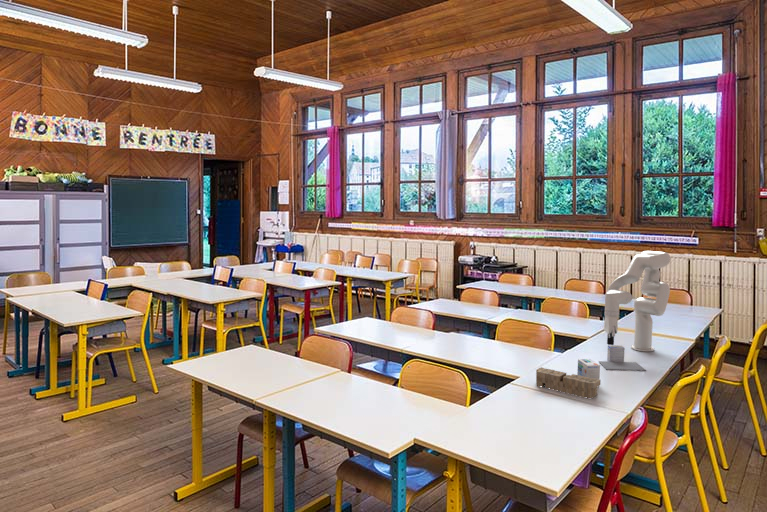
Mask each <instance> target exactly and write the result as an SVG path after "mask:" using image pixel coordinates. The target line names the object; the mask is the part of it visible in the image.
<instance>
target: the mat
mask: <svg viewBox="0 0 767 512" xmlns="http://www.w3.org/2000/svg"><path fill="white" fill-rule="evenodd" d="M598 364H599V365H600V366H602V367H603V366H604V367H605V368H606V369H607V370H606V369H605V368H604V367H603V368H604V369H605V370H606V371H626V370H642V371H641V372H646V371H647V369H646V368H645V367H643V366H642V365H640V364H639V363H638V362H636V361H624V362H609V361H608V360H606V361H604V360H602V361H600V360H598Z"/></svg>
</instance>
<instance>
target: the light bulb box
mask: <svg viewBox="0 0 767 512" xmlns="http://www.w3.org/2000/svg"><path fill="white" fill-rule="evenodd" d="M600 374H601V364H600V363H598V362H596V361H594V360H592V359H591V358H584V359H583V358H582V359H581V358H580V359H577V374H576V375H580V376H584V377H588V378H596V379H600ZM600 380H601V379H600Z"/></svg>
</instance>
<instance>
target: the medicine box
mask: <svg viewBox="0 0 767 512" xmlns="http://www.w3.org/2000/svg"><path fill="white" fill-rule="evenodd" d="M625 349H626V348H625V346H623V345H615V344H614V345H608V344H607V357H606V358H607V360H606V361H608V362H625Z"/></svg>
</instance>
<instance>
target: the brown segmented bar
mask: <svg viewBox="0 0 767 512" xmlns="http://www.w3.org/2000/svg"><path fill="white" fill-rule="evenodd" d="M535 371H536V373H535V376H536V378H535V379H536V382H535V384H536V387H538V386H542V387H541V388H545V387H546V388H550V389H554V390H558V391H561V392H560V393H562V392H565V393H564V394H567V393H569V394H568V395H571V394H574V395H573V396H575V395H577V396H576V397H579V396H581V397H580V398H584V397H587V398H586V399H588V398H592V397H593V398H595V397H596V396H597V395H598V387H597V386H599V387H600V386H601V379H596V378H588V377H584V376H580V375H577V374H574V373H572V374H571V375H570V374H567V372H564V371H558V370H555V369H549V368H546V367H545V368H544V367H539V368H537V369H535ZM544 385H545V386H544ZM543 386H544V387H543ZM546 388H545V389H546ZM550 389H549V390H550ZM554 390H553V391H554ZM558 391H557V392H558ZM595 395H596V396H595ZM594 396H595V397H594ZM593 398H592V399H593Z"/></svg>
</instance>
